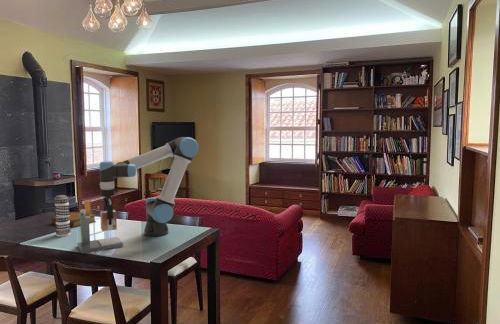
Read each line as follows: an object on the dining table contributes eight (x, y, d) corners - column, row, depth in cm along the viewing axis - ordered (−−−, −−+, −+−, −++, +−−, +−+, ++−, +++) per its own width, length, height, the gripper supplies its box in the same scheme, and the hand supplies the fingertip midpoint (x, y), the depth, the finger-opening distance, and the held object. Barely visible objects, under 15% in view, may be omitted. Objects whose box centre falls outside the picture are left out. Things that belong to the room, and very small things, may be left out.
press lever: (79, 213, 222) (79, 196, 221) (87, 212, 224) (86, 195, 223) (84, 219, 207) (83, 201, 206) (92, 218, 209) (92, 200, 208)
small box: (102, 231, 219) (101, 213, 218) (100, 229, 224) (100, 211, 223) (117, 229, 223) (116, 211, 222) (115, 227, 228) (114, 209, 227)
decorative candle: (53, 237, 243) (50, 197, 240) (58, 232, 252) (56, 194, 249) (68, 236, 244) (66, 196, 242) (73, 232, 253) (71, 194, 251)
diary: (51, 224, 275) (51, 216, 275) (75, 219, 292) (74, 211, 291) (73, 228, 264) (72, 220, 264) (96, 222, 280) (95, 214, 280)
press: (116, 240, 235) (115, 209, 233) (123, 246, 222) (121, 213, 221) (77, 246, 224) (75, 213, 222) (81, 253, 211) (79, 218, 209)
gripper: (97, 187, 227) (98, 226, 229) (103, 191, 211) (105, 233, 213) (110, 186, 231) (112, 224, 233) (118, 190, 215) (119, 231, 217)
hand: (108, 228), depth 223 cm, fingers closed on small box, 6 cm apart
